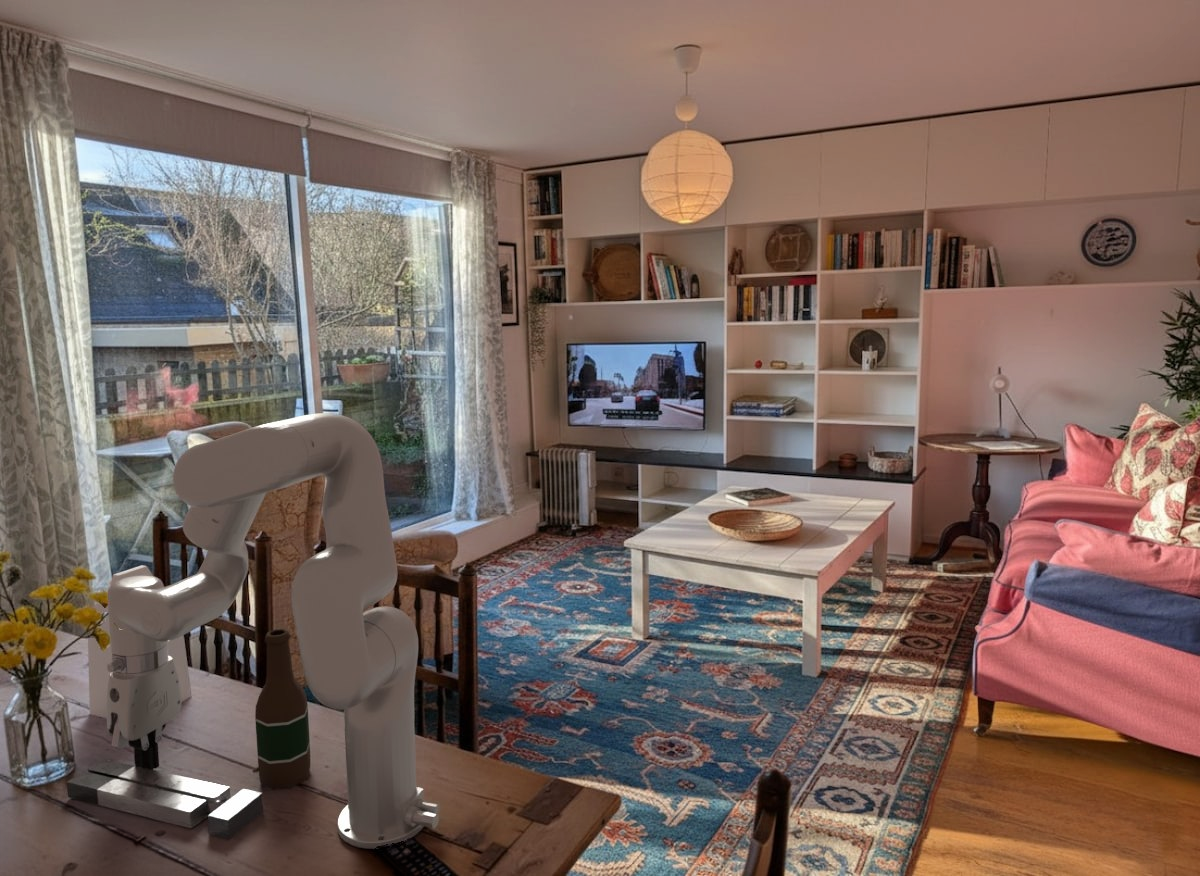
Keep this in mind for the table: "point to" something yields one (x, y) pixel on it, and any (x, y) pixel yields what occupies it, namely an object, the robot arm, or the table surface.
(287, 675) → the beer bottle
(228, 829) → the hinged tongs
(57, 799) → the table surface
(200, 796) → the tongs arm
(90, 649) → the milk
